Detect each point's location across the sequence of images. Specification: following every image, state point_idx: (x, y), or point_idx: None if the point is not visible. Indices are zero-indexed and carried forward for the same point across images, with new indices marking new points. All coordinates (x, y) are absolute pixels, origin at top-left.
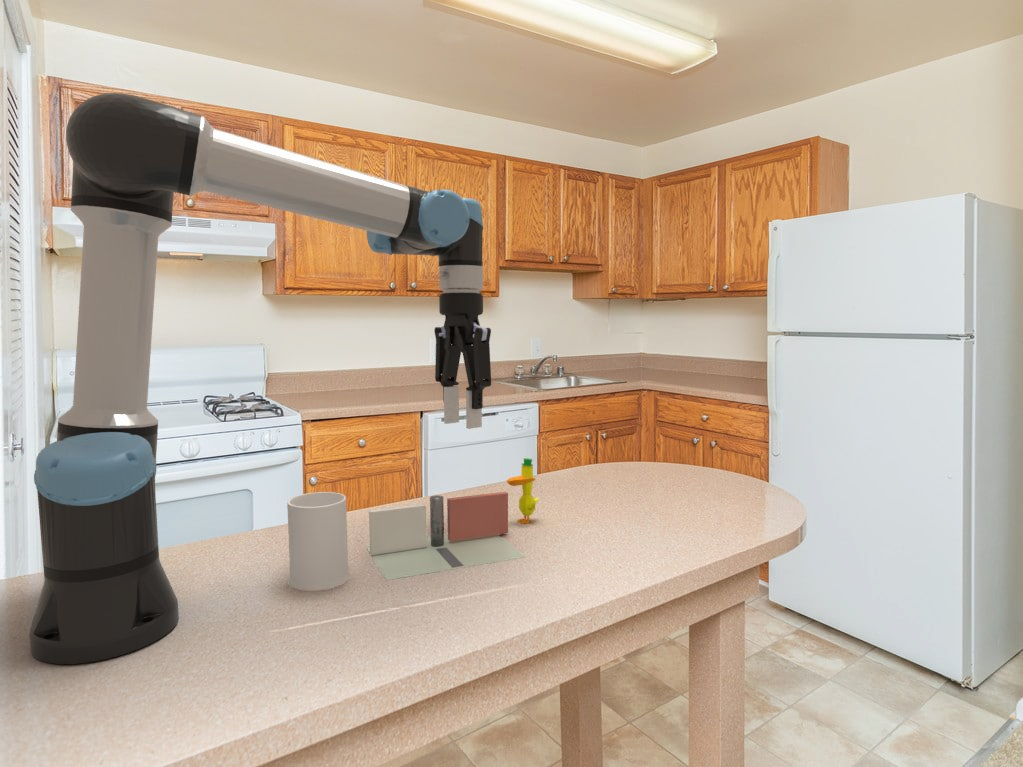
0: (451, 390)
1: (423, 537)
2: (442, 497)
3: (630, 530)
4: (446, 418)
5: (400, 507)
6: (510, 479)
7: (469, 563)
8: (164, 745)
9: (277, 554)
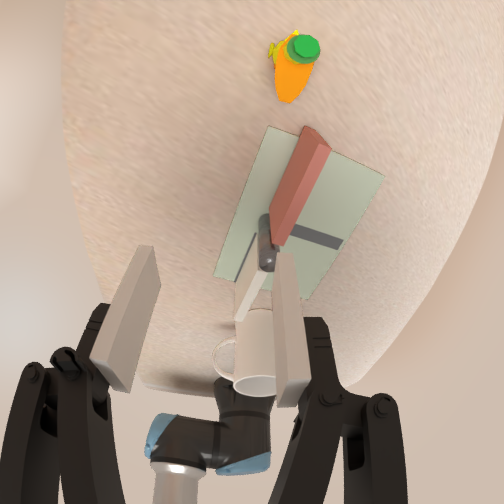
0: (123, 367)
1: None
2: None
3: (422, 5)
4: (156, 297)
5: (249, 296)
6: (285, 93)
7: (344, 231)
8: (351, 382)
9: (179, 322)
